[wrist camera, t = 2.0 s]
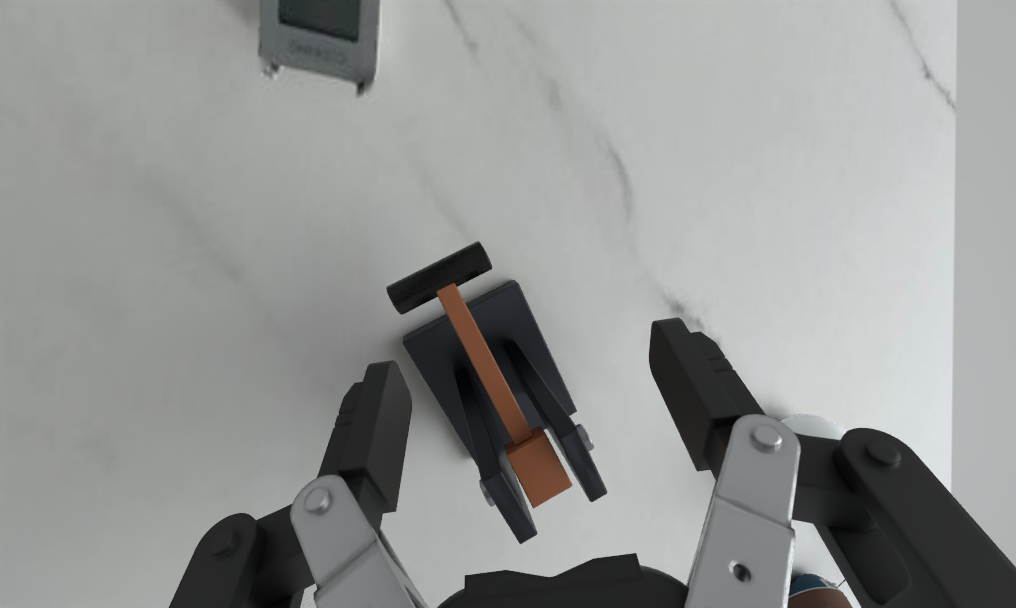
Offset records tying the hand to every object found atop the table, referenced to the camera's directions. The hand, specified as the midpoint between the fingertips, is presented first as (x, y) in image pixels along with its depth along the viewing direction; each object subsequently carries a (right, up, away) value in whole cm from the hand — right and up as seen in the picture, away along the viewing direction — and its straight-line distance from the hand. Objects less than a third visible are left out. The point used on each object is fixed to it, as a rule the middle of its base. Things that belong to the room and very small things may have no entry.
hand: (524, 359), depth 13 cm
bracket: (-2, -4, +18) cm, 19 cm away
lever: (-2, -2, +10) cm, 10 cm away
